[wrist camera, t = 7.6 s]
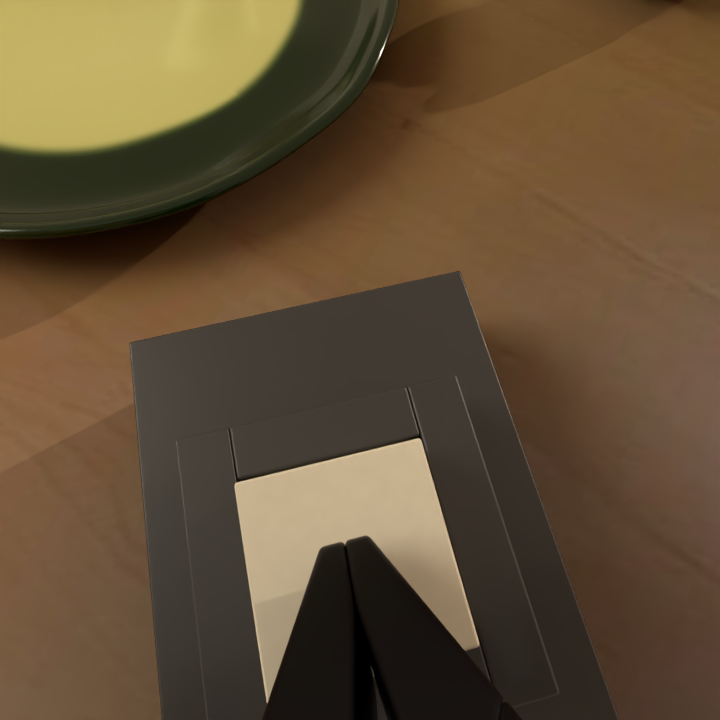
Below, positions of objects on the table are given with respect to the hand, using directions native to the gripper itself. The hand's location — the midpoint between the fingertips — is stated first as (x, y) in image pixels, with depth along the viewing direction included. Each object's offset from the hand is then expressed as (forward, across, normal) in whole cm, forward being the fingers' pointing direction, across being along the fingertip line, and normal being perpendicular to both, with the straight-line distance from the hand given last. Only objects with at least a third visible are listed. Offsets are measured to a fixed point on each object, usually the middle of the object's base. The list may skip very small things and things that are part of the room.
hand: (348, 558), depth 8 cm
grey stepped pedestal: (+5, 0, +6) cm, 8 cm away
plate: (+24, +6, -13) cm, 28 cm away
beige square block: (+2, 0, +2) cm, 3 cm away
